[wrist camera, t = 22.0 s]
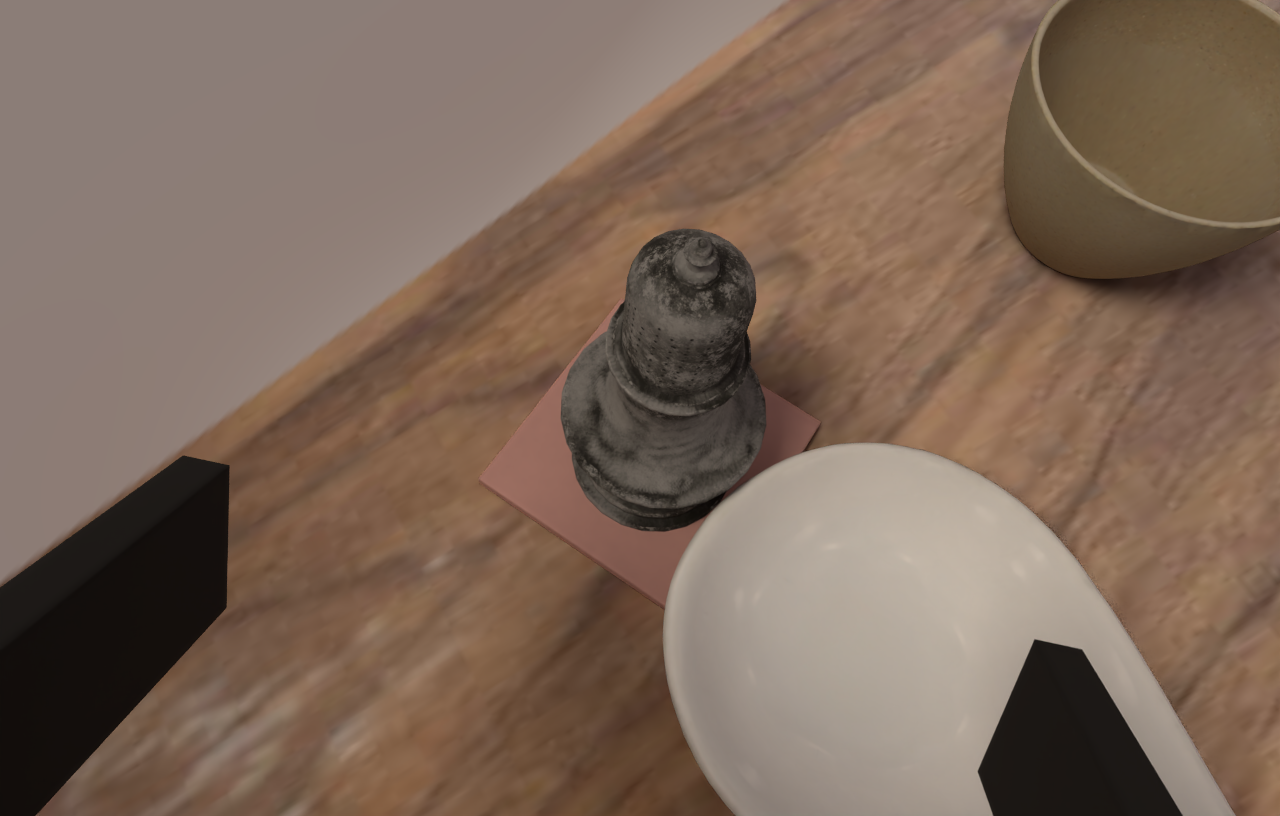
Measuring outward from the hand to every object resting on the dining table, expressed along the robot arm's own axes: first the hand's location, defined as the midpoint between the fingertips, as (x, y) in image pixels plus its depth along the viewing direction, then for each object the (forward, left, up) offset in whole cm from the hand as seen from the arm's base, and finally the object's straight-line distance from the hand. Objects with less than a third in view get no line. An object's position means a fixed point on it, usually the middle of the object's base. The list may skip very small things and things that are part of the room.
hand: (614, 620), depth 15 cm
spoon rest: (+11, +3, -13) cm, 17 cm away
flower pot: (+5, +24, -13) cm, 28 cm away
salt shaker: (-3, +7, -12) cm, 14 cm away
